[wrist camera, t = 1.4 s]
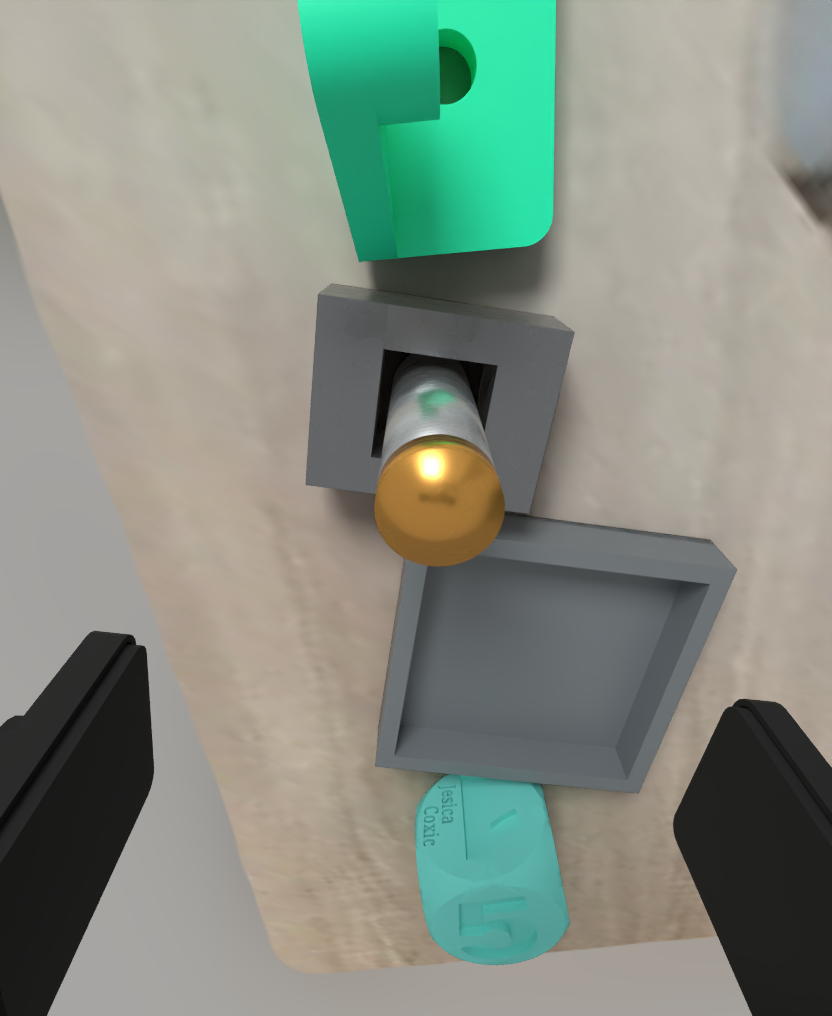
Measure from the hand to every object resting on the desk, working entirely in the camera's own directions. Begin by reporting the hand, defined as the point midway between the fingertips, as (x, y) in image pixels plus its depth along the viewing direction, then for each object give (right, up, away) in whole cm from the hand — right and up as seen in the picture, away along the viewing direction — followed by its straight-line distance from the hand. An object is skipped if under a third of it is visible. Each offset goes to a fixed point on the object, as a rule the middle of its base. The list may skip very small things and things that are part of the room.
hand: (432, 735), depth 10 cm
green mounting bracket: (+1, +20, +14) cm, 25 cm away
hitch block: (0, +9, +19) cm, 21 cm away
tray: (+6, -4, +25) cm, 26 cm away
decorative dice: (+4, -16, +31) cm, 36 cm away
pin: (0, +9, +19) cm, 21 cm away
